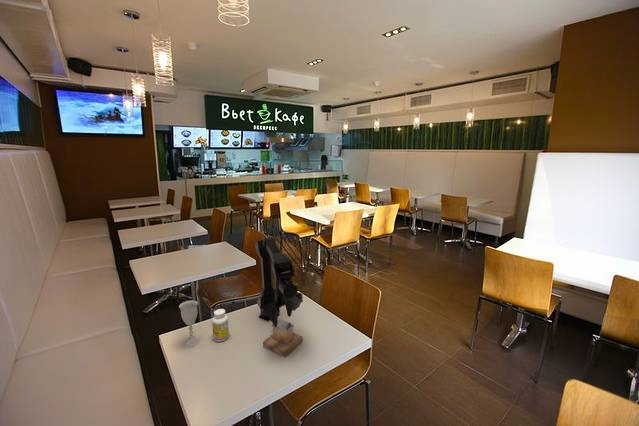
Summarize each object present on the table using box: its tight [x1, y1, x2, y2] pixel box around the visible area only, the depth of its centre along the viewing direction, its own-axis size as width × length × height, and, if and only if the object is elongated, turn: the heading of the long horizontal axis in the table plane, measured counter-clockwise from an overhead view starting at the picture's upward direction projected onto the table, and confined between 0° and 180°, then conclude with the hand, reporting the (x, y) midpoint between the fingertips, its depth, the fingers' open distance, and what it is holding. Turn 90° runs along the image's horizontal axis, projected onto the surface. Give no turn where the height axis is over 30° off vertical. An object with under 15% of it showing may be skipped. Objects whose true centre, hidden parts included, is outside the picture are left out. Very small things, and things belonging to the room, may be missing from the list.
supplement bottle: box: [211, 308, 230, 343], centre depth 130 cm, size 7×7×13 cm
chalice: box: [178, 300, 199, 347], centre depth 126 cm, size 7×7×18 cm
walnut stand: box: [262, 332, 303, 358], centre depth 127 cm, size 12×12×2 cm
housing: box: [271, 318, 295, 345], centre depth 126 cm, size 5×8×7 cm, turn 59°
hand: (282, 321), depth 125 cm, fingers open, 9 cm apart
